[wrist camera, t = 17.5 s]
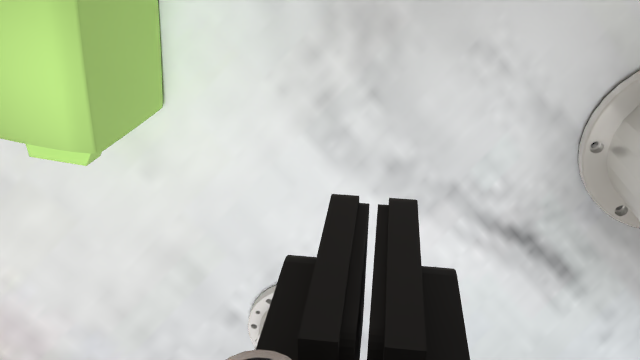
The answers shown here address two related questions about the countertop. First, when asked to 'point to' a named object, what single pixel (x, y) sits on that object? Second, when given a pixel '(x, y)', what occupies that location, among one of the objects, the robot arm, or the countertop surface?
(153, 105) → the gearbox
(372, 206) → the countertop surface
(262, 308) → the mechanical component
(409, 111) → the countertop surface
